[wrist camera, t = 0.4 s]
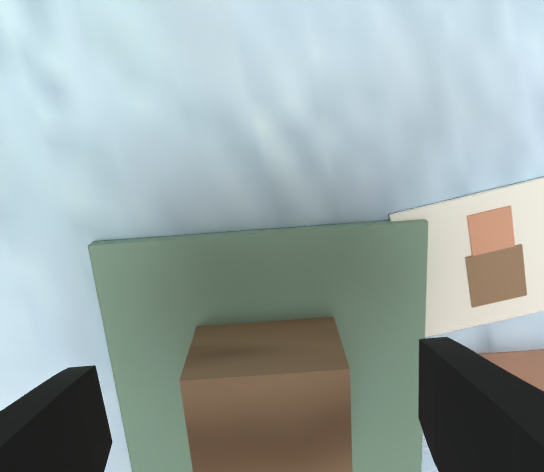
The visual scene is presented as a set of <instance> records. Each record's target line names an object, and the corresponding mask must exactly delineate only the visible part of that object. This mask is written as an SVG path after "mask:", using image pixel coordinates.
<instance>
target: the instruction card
mask: <svg viewBox="0 0 544 472" xmlns="http://www.w3.org/2000/svg"><path fill="white" fill-rule="evenodd" d="M389 218H390V221H405V220H419V219H426V220H427V221H428V251H427V286H426V320H425V337H429V336H434V335H438V334H443V333H447V332H452V331H456V330H461V329H465V328H469V327H474V326H478V325H483V324H487V323H492V322H496V321H500V320H505V319H509V318H514V317H518V316H523V315H527V314H532V313H536V312H540V311H544V177H541V178H537V179H533V180H529V181H525V182H520V183H516V184H512V185H508V186H504V187H500V188H496V189H492V190H487V191H483V192H479V193H475V194H471V195H467V196H463V197H459V198H454V199H450V200H446V201H442V202H438V203H434V204H430V205H426V206H421V207H417V208H413V209H409V210H405V211H401V212H397V213H393V214H389Z"/></svg>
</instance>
